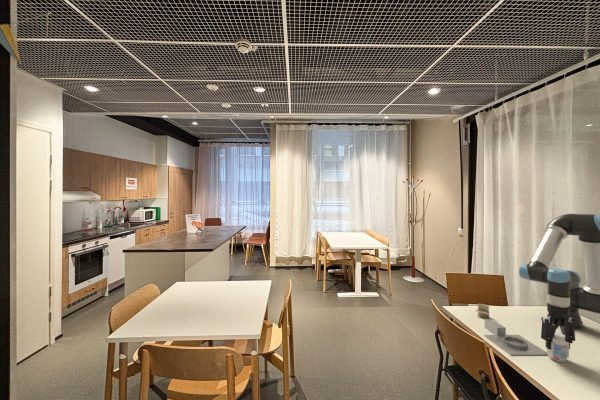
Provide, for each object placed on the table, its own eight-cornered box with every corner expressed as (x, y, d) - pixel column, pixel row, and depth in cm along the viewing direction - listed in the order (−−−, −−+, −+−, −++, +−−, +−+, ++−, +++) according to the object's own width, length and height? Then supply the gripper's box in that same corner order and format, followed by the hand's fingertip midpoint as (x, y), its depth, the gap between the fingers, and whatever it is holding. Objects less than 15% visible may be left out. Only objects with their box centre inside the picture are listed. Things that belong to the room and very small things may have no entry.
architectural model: (489, 319, 168) (489, 307, 168) (475, 317, 172) (475, 304, 172) (489, 317, 171) (489, 305, 171) (475, 315, 175) (475, 303, 175)
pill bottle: (544, 355, 129) (545, 331, 129) (557, 354, 130) (557, 330, 130) (558, 363, 123) (558, 337, 123) (570, 362, 124) (571, 337, 124)
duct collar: (504, 327, 158) (504, 319, 158) (549, 355, 130) (549, 345, 130) (472, 327, 157) (472, 319, 157) (510, 355, 129) (510, 345, 129)
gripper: (571, 301, 130) (570, 351, 130) (530, 301, 130) (529, 351, 130) (587, 307, 123) (587, 360, 123) (544, 307, 122) (544, 360, 123)
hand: (557, 355), depth 127 cm, fingers closed on pill bottle, 6 cm apart
